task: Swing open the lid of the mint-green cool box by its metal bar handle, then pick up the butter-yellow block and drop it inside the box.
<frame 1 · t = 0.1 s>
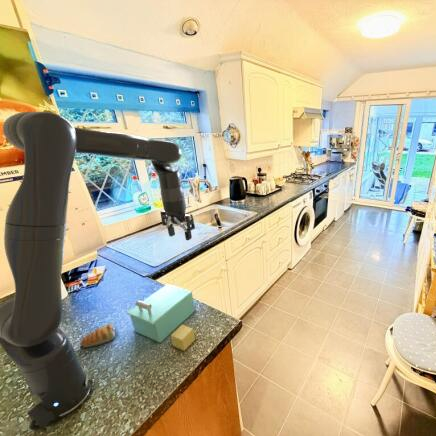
hand: (180, 237, 92), 29 cm above the worktop, tool pointing down, fingers open, 8 cm apart
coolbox: (166, 320, 91), on the worktop
lid: (160, 297, 86), point 11 cm above the worktop, hinge at 0.0°
block: (184, 342, 81), on the worktop
pastry: (102, 339, 83), on the worktop
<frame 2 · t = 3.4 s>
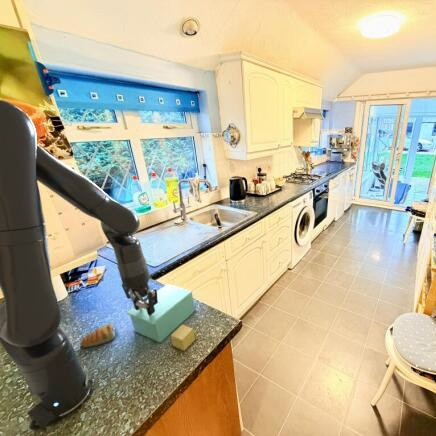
hand: (145, 310, 81), 10 cm above the worktop, tool pointing down, fingers closed on lid, 5 cm apart
lid: (160, 297, 86), point 11 cm above the worktop, hinge at 0.0°, touching gripper
everything else where it was.
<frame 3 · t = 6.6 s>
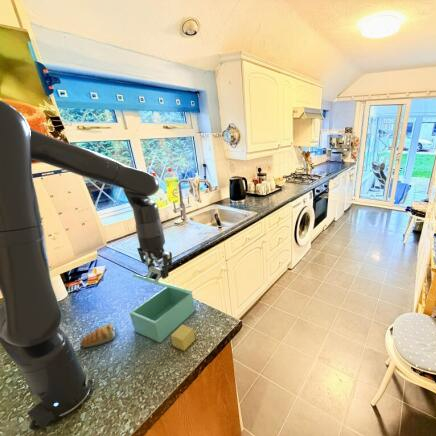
hand: (159, 275, 84), 20 cm above the worktop, tool pointing down, fingers closed on lid, 5 cm apart
lid: (166, 278, 88), point 17 cm above the worktop, hinge at 45.8°, touching gripper
everything else where it was.
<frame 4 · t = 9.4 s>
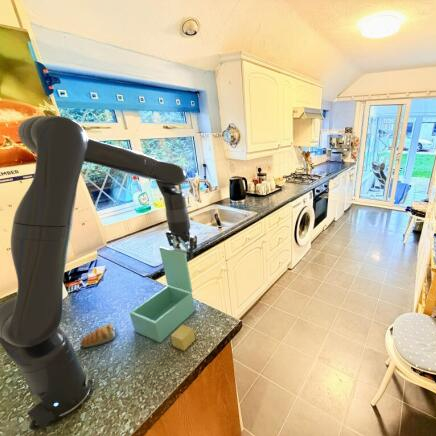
hand: (184, 257, 94), 21 cm above the worktop, tool pointing down, fingers closed on lid, 5 cm apart
lid: (180, 267, 93), point 18 cm above the worktop, hinge at 90.1°, touching gripper
everything else where it was.
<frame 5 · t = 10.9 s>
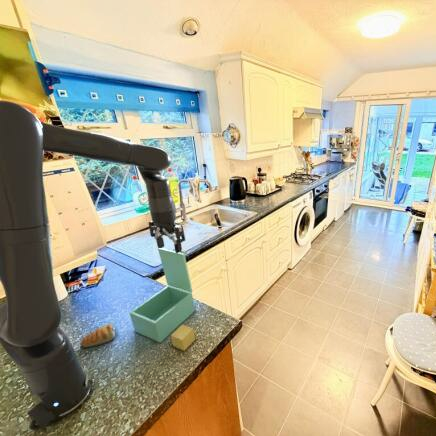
hand: (170, 249, 86), 28 cm above the worktop, tool pointing down, fingers open, 8 cm apart
lid: (179, 267, 93), point 18 cm above the worktop, hinge at 88.1°
everything else where it was.
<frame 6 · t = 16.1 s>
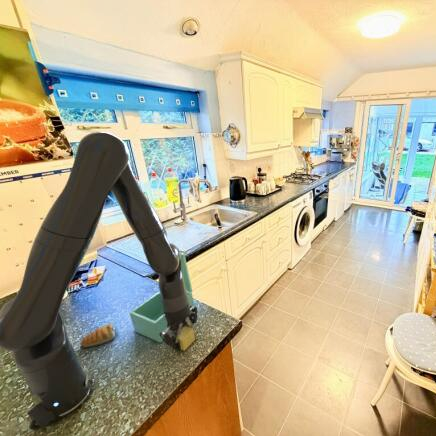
hand: (184, 341, 81), 0 cm above the worktop, tool pointing down, fingers closed on block, 5 cm apart
block: (184, 342, 81), on the worktop, touching gripper
everything else where it was.
when the fingers open (11 cm above the worktop, at t = 21.4 s): block drops 10 cm, resting on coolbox.
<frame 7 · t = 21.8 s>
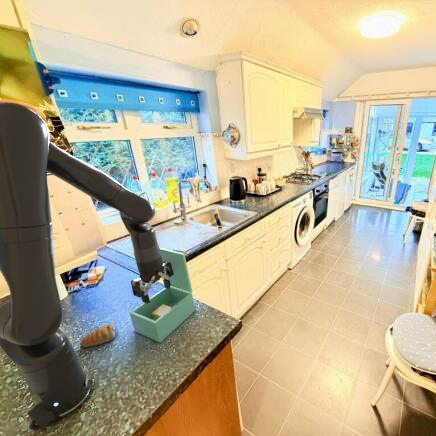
hand: (157, 295, 85), 13 cm above the worktop, tool pointing down, fingers open, 8 cm apart
block: (164, 320, 90), point 1 cm above the worktop, touching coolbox
everything else where it was.
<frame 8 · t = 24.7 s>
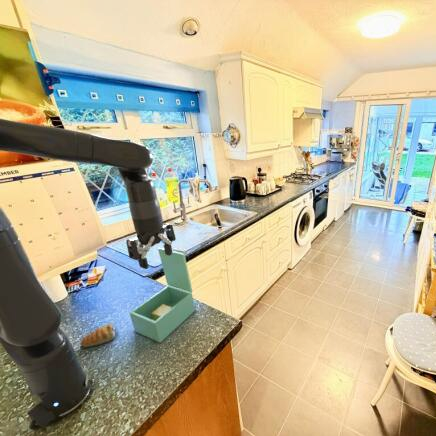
hand: (157, 261, 75), 30 cm above the worktop, tool pointing down, fingers open, 8 cm apart
nothing on the worktop moved.
at the end: lid at +88° (first picture: +0°); block inside the target area in the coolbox (0.8 cm from its centre), point 0.8 cm above the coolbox's base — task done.
